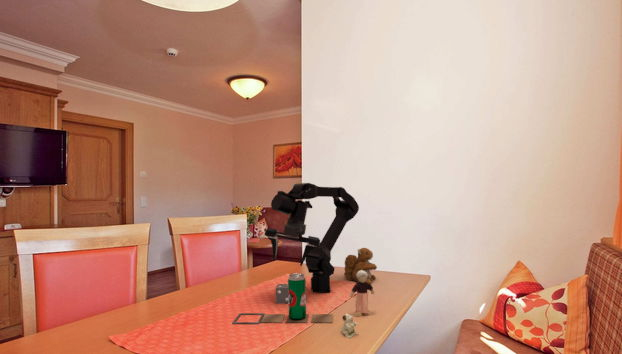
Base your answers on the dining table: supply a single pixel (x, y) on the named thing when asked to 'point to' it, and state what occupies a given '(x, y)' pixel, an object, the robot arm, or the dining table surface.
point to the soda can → (297, 296)
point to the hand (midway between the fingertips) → (287, 263)
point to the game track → (279, 318)
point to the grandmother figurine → (362, 293)
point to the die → (282, 294)
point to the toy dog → (348, 326)
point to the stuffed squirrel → (359, 265)
